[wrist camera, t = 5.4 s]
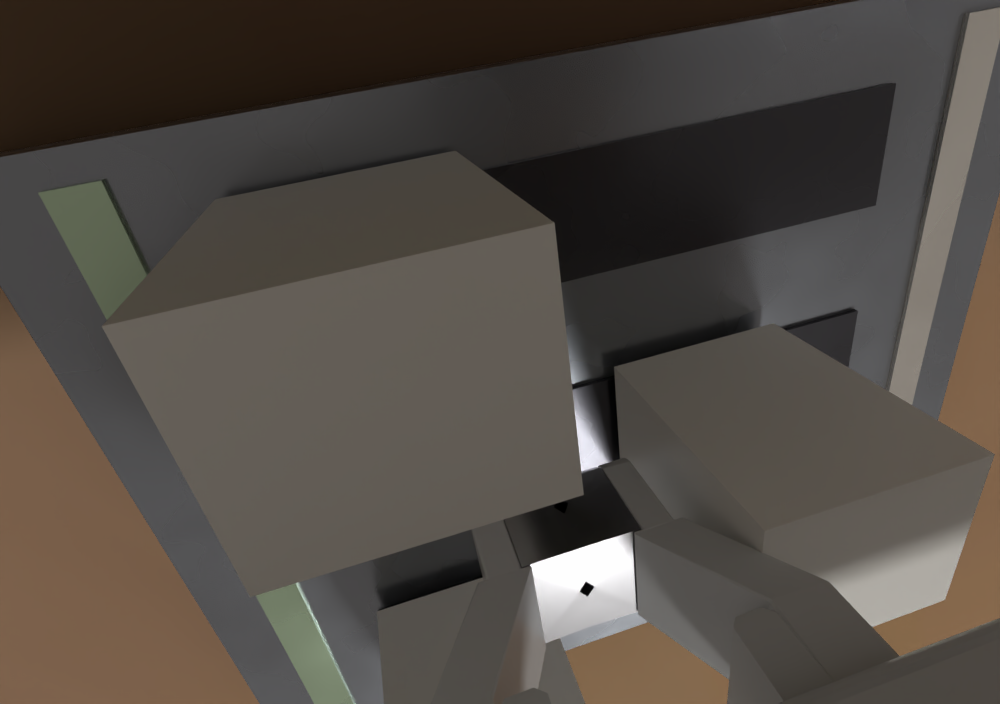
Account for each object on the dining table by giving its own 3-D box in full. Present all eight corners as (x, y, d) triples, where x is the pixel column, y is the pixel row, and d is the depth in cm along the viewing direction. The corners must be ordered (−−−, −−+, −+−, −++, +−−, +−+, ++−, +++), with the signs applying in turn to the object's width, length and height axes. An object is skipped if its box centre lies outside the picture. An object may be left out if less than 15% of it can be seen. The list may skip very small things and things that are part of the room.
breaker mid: (774, 322, 12) (995, 454, 8) (762, 439, 13) (944, 599, 9) (614, 366, 11) (764, 530, 7) (621, 483, 13) (750, 672, 9)
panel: (977, -25, 11) (1068, -38, 10) (866, 497, 18) (910, 533, 17) (-11, 153, 9) (-77, 171, 7) (291, 690, 15) (286, 751, 14)
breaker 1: (455, 150, 9) (554, 222, 5) (487, 327, 10) (583, 494, 6) (215, 199, 8) (102, 325, 4) (285, 377, 9) (250, 597, 6)
